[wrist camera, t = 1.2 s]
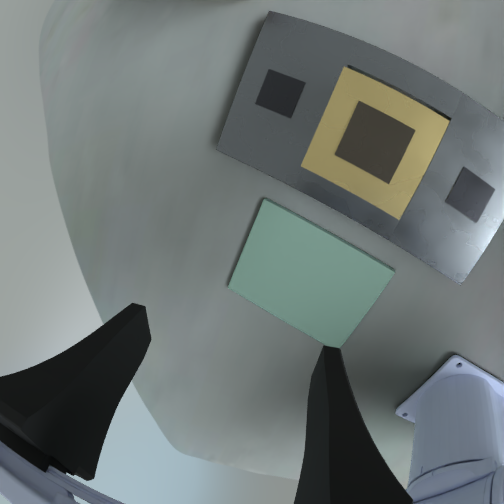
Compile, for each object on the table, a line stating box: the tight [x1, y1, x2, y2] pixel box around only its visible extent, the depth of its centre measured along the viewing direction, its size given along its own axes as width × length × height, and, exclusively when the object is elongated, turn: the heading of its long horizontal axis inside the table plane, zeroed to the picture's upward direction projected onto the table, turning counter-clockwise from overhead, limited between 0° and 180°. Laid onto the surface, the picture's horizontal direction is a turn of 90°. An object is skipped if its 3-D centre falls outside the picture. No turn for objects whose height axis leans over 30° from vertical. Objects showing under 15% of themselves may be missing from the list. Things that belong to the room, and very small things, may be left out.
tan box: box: [301, 67, 450, 220], centre depth 14 cm, size 4×4×8 cm
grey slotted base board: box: [216, 11, 504, 286], centre depth 17 cm, size 18×10×2 cm, turn 68°
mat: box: [228, 198, 395, 349], centre depth 23 cm, size 10×8×1 cm
